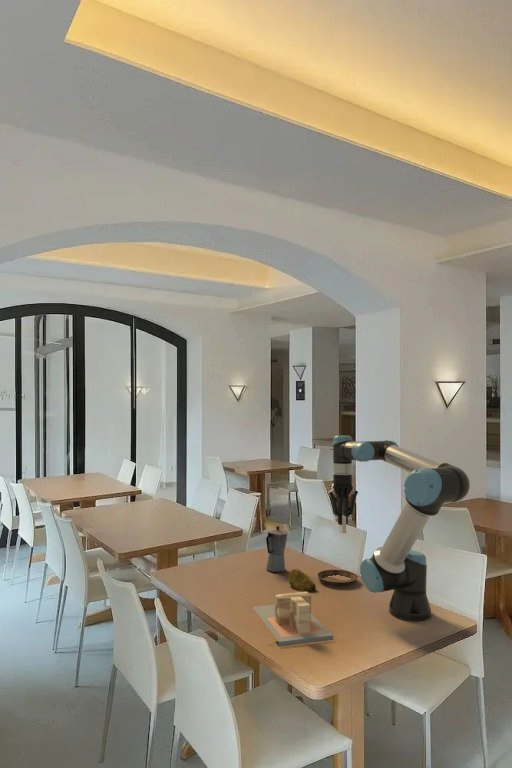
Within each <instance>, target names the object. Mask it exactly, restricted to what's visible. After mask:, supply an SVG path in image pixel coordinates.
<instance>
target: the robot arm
mask: <svg viewBox="0 0 512 768" xmlns="http://www.w3.org/2000/svg"><path fill="white" fill-rule="evenodd" d="M332 439H333V444H332V454H333V455H332V458H333V459H332V460H333V464H332V469H333V470H332V471H333V472H332V473H334V474H333V476H332V477H333V478H332V479H333V481H332V482H333V486H332V488H331V490H330V491H326V493H327V495H328V496H329V500H330V505H331V509H332V510H331V511H332V513H333V515H335V516H337V524H338V525H339V533H341V534H347V525H348V524H349V517H350V515H351V516H352V515H353V511H354V506H355V502H356V498H357V496H358V494H359V492H358V490H355V489H354V487H353V484H352V483H353V475H352V473H353V461H357V462H360V463H362V462H364V463H365V462H369V461H383V462H386V463H387V464H389V465H393V466H394V467H396V468H399V469H400V470H402V471H405V472H408V473H409V474H408V475H407V476H406V479H405V480H404V484H403V488H404V490H403V492H404V498H405V499H404V500H405V501H406V503H405V505H404V506H403V508H402V510H401V512H400V513H399V515H398V517H397V519H396V521H395V523H394V524H393V527H392V528H391V531H390V532H389V534H388V536H387V538H386V539H385V541H384V543H383V545H382V546H380V547H377V548H376V549H375V550H374V552H373V554H372V556H371V557H370V558H365V559H363V560H362V561H361V563H360V566H359V574H360V578H361V581H362V584H363V585H364V587H365V588H366V589H367V590H368V591H369V592H371V593H374V594H375V593H384V592H389V591H393V593H392V595H391V599H390V601H389V606H388V609H389V610H388V612H389V613H390V614H391V615H392V616H393V617H395V618H398V619H400V620H404V621H410V622H422V621H428V620H430V618H432V609H431V605H430V601H429V599H428V596H427V595H428V594H427V568H428V565H427V558H426V554H424V553H423V552H420V551H418V550H414V549H412V548H413V546H414V545H415V543H416V542H417V540H418V538H419V536H420V534H421V532H422V531H423V529H424V528H425V525H427V523H428V521H429V519H430V518H431V517H435V516H436V515H438V514H439V512H440V510H441V508H442V507H443V505H444V504H448V503H449V504H450V503H456V502H459V501H462V500H463V499H464V498H465V497H466V496H467V495H468V493H469V491H470V487H471V485H470V483H471V481H470V479H469V476H468V475H467V473H466V472H465V471H464V470H463V469H461V468H459V467H458V466H455V465H453V464H450V463H447V462H442V463H439V462H437V461H435V460H432V459H430V458H428V457H425V456H423V455H419V454H418V453H415V452H413V451H410V450H407V449H405V448H403V447H400V446H399V445H398V444H397V442H396V441H394V440H374V441H372V440H369V441H368V440H367V441H362V440H361V441H357V440H356V441H355V440H353V438H352V436H350V435H334V437H333V438H332ZM335 496H336V497H335Z"/></svg>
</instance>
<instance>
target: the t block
mask: <svg viewBox="0 0 512 768" xmlns="http://www.w3.org/2000/svg"><path fill="white" fill-rule="evenodd" d="M274 596H275V597H274V600H275V601H274V605H275V621H276V623H277V624H278V625H286V624H290V625H291V626H292V627H293V628H294V629H295V630H296V631H297V632H298V633H307V632H310V621H311V614H312V595H311V594H310V593H309V592H306V591H299V592H288V593H279V594H275V595H274Z"/></svg>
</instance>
